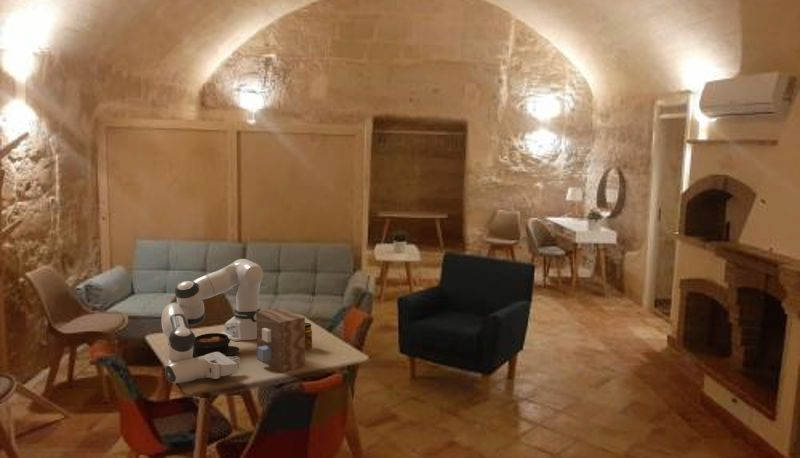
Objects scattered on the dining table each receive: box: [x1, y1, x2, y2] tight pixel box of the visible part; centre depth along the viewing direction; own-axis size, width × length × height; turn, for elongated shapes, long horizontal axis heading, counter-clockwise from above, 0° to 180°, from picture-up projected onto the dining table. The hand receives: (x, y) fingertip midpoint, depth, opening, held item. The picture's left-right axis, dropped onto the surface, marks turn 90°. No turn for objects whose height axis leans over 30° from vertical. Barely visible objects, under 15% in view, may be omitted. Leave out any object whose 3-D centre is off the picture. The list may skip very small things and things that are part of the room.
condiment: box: [305, 322, 316, 352], centre depth 298 cm, size 7×8×12 cm
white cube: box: [262, 328, 271, 342], centre depth 274 cm, size 5×5×5 cm
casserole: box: [192, 332, 240, 358], centre depth 288 cm, size 25×19×8 cm
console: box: [256, 307, 306, 373], centre depth 278 cm, size 12×22×22 cm, turn 39°
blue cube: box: [256, 345, 272, 362], centre depth 274 cm, size 5×5×5 cm
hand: (238, 358), depth 266 cm, fingers closed
